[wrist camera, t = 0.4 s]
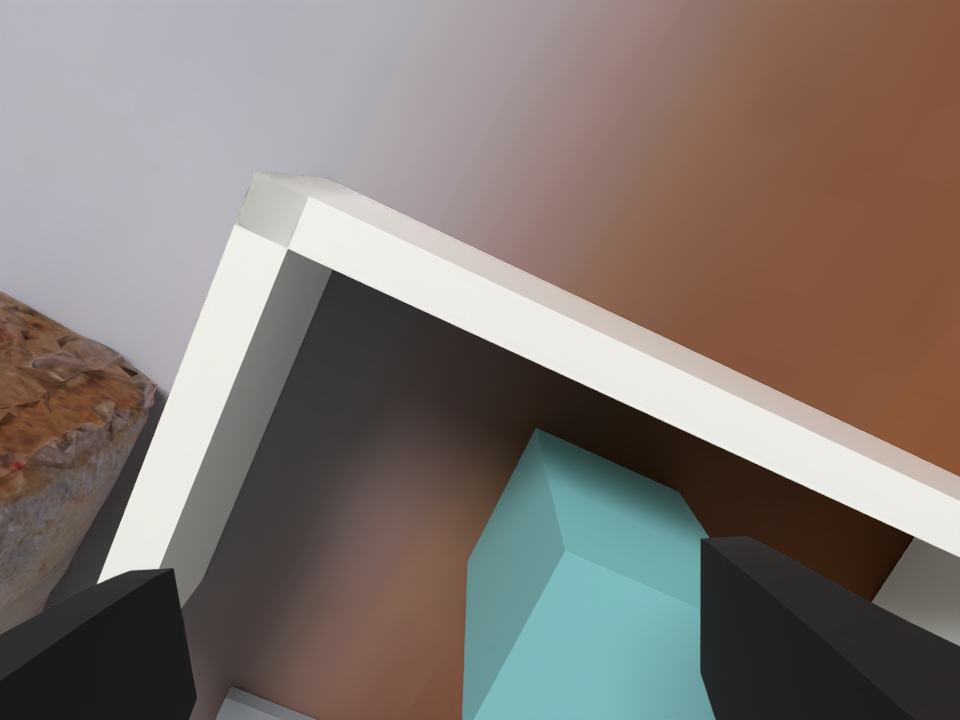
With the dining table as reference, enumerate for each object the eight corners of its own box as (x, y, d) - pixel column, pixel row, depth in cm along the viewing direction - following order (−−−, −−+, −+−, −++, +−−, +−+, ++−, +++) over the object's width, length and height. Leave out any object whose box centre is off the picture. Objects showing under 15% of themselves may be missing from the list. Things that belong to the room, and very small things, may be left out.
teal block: (678, 491, 20) (780, 643, 13) (605, 619, 21) (665, 823, 14) (535, 427, 20) (565, 550, 13) (467, 561, 21) (461, 742, 14)
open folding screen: (985, 489, 20) (1193, 610, 14) (769, 810, 23) (870, 1024, 17) (327, 178, 18) (255, 170, 12) (170, 565, 21) (47, 712, 15)
